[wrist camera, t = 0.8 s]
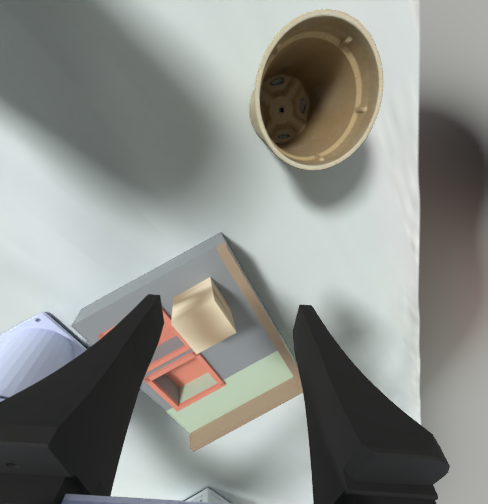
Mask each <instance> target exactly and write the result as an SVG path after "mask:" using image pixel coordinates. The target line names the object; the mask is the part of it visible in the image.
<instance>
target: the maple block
mask: <svg viewBox="0 0 488 504" xmlns="http://www.w3.org/2000/svg"><path fill="white" fill-rule="evenodd" d="M171 325H172V326H173V327H174V328H175V329H176V331H177V332H178V333H179V334H180V335H181V336H182V338H183V339H184V340H185V341H186V342H187V344H188V345H189V346H190V347H191V348H192V349H193V351H194V352H195V353H196V354H198V353H200V352H202V351H204V350H206V349H208V348H209V347H211V346H213V345H215V344H217V343H219V342H220V341H222V340H224V339H226V338H228V337H229V336H231V335H233V334H235V333H237V332H236V328H235V325H234V321H233V317H232V313H231V309H230V306H229V305H228V303H227V302H226V300H225V299H224V297H223V295H222V294H221V292H220V291H219V289H218V288H217V286H216V285H215V283H214V282H213V280H212V279H211V277H209V278H207V279H206V280H204V281H202V282H200V283H198V284H197V285H195V286H193V287H191V288H189V289H187V290H186V291H184V292H182V293H180V294H178V295H176V296H175V297H173V307H172V320H171Z"/></svg>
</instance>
